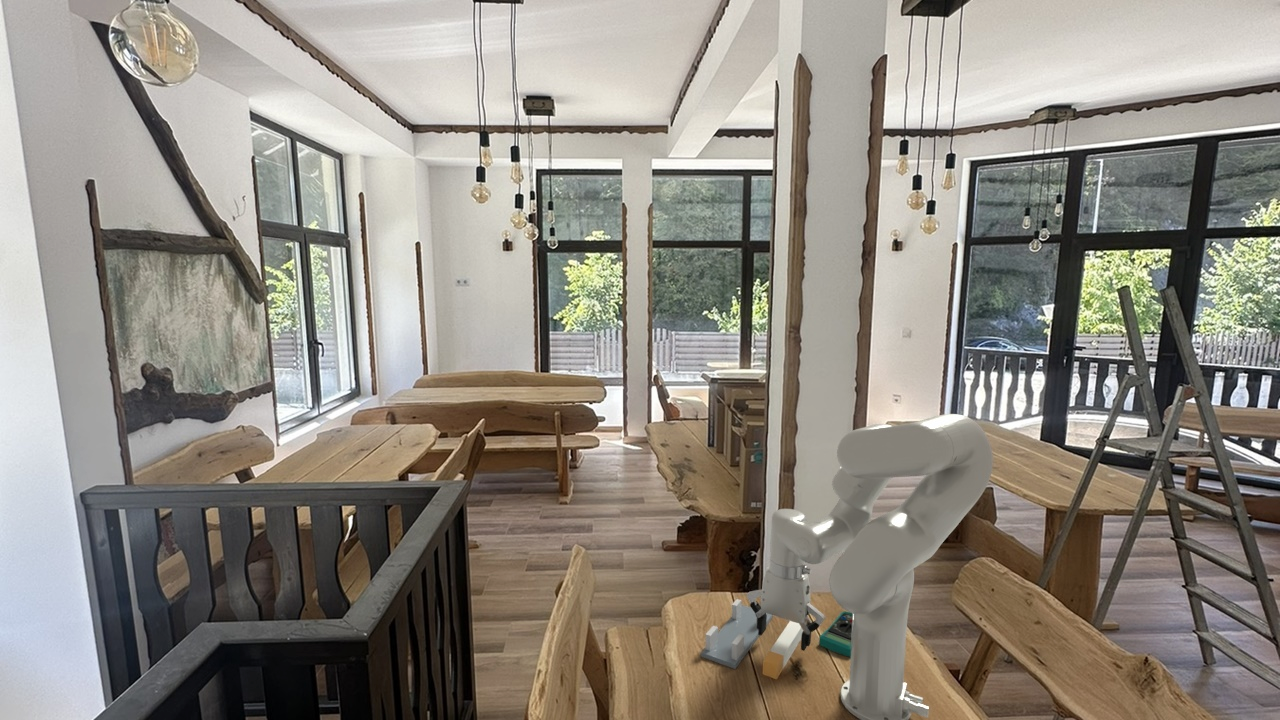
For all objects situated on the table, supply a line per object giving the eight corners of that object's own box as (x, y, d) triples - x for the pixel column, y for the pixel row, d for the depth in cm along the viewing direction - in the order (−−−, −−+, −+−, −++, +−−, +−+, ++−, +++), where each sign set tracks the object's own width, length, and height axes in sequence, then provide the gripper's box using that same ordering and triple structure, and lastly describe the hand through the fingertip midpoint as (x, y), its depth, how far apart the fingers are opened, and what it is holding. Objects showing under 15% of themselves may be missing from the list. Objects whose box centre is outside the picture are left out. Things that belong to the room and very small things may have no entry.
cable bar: (805, 631, 136) (805, 619, 136) (776, 679, 120) (777, 665, 119) (792, 628, 138) (793, 616, 138) (762, 674, 121) (763, 660, 121)
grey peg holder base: (772, 617, 142) (772, 600, 142) (735, 669, 123) (735, 649, 122) (741, 608, 146) (742, 591, 146) (701, 656, 127) (701, 637, 126)
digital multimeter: (873, 630, 138) (873, 618, 137) (850, 660, 126) (850, 647, 126) (842, 619, 142) (842, 607, 142) (817, 647, 131) (818, 635, 131)
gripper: (831, 570, 125) (826, 644, 128) (755, 550, 134) (752, 619, 137) (822, 585, 119) (817, 663, 121) (742, 563, 128) (739, 635, 130)
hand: (782, 639), depth 129 cm, fingers open, 9 cm apart
